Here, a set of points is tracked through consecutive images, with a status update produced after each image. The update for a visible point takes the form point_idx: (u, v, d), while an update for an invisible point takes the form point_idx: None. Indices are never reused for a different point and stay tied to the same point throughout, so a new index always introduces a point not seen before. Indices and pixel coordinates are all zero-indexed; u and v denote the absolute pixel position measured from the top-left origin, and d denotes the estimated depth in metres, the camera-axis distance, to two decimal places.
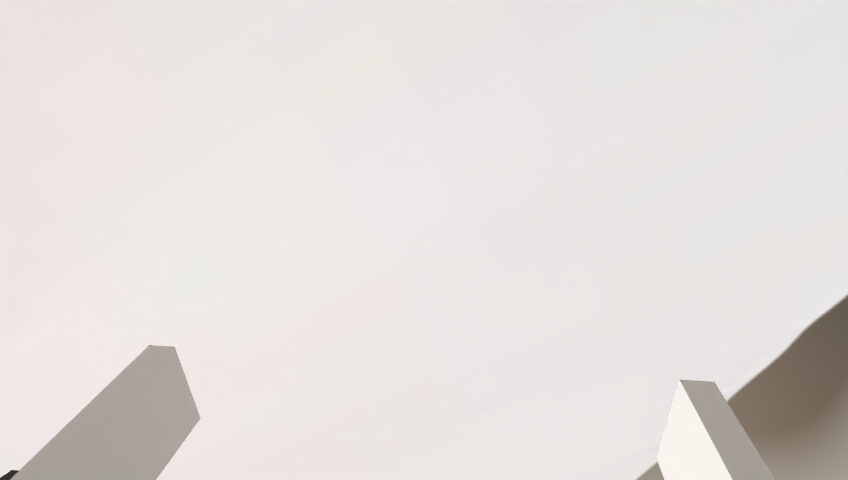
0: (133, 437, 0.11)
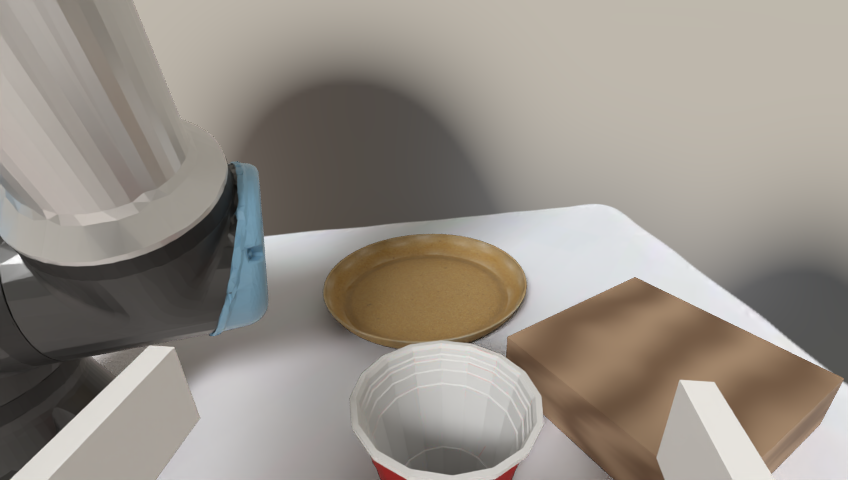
0: (133, 437, 0.11)
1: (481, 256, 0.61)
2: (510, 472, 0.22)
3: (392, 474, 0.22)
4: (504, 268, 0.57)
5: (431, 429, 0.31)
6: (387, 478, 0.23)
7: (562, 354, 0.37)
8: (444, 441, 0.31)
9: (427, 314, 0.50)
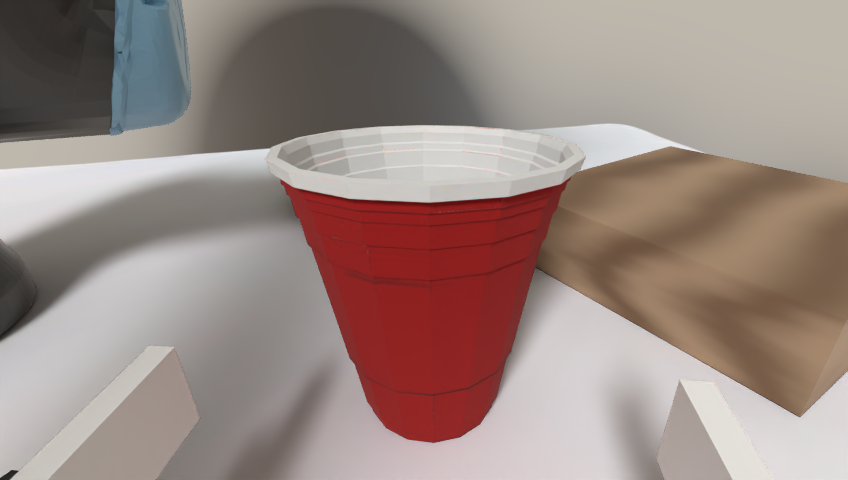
0: (133, 437, 0.11)
1: None
2: (532, 224, 0.13)
3: (329, 220, 0.13)
4: None
5: None
6: (324, 242, 0.14)
7: (589, 199, 0.28)
8: None
9: None
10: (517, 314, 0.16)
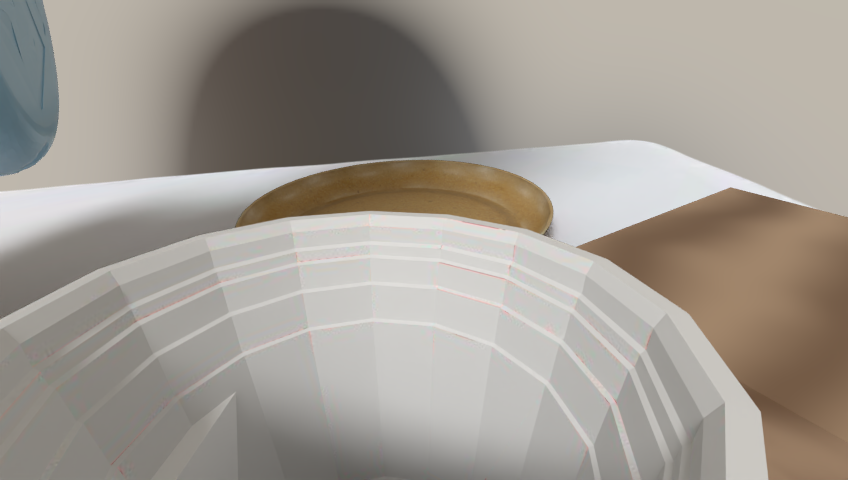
0: None
1: (482, 185, 0.42)
2: None
3: None
4: (516, 197, 0.39)
5: (353, 437, 0.13)
6: None
7: None
8: (387, 465, 0.13)
9: None
10: None
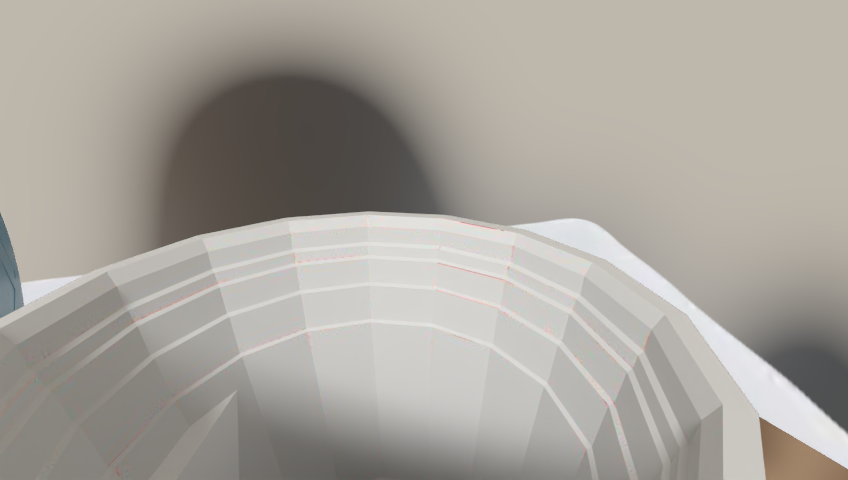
0: None
1: None
2: None
3: None
4: None
5: (352, 438, 0.13)
6: None
7: None
8: (386, 466, 0.13)
9: None
10: None
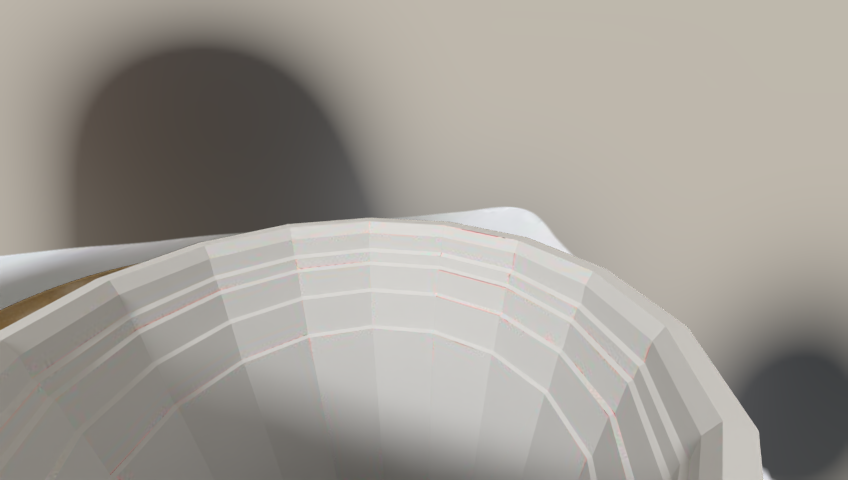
0: None
1: None
2: None
3: None
4: None
5: (353, 443, 0.13)
6: None
7: None
8: (387, 471, 0.13)
9: None
10: None
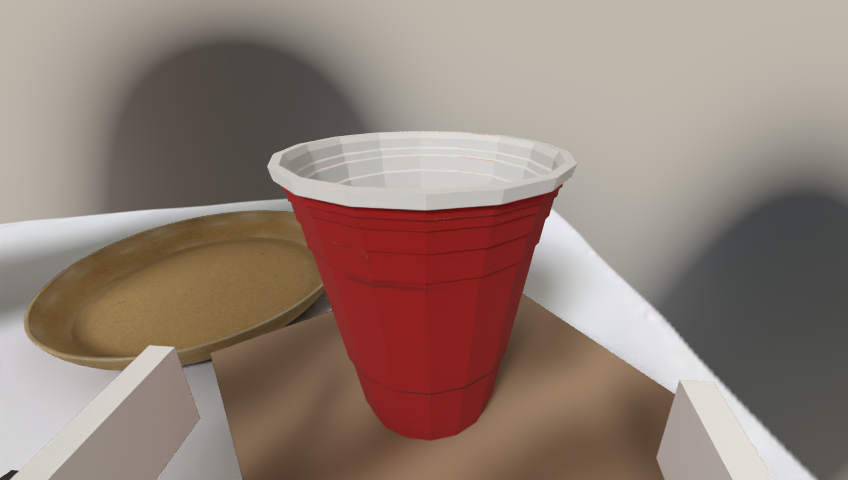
0: (133, 437, 0.11)
1: None
2: (524, 229, 0.14)
3: (329, 226, 0.13)
4: None
5: None
6: (324, 247, 0.14)
7: (273, 384, 0.22)
8: None
9: (188, 316, 0.35)
10: (511, 316, 0.17)
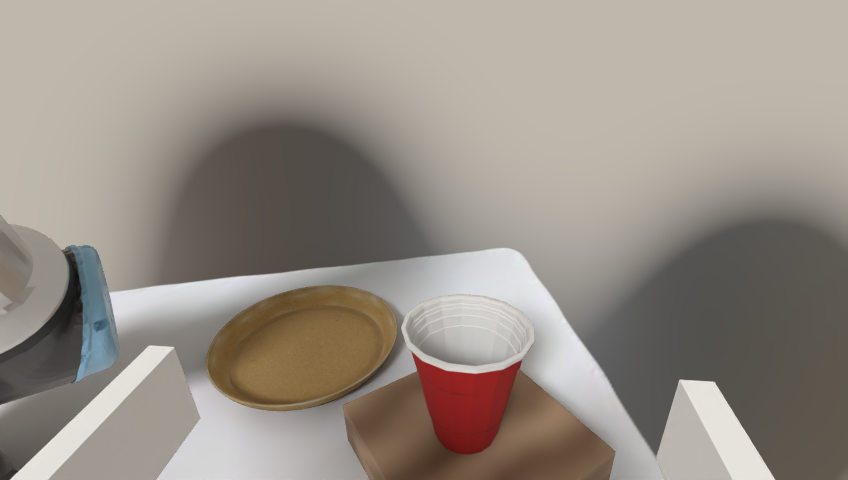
0: (133, 437, 0.11)
1: (372, 308, 0.65)
2: (512, 370, 0.34)
3: (434, 371, 0.33)
4: (387, 323, 0.61)
5: (453, 360, 0.42)
6: (430, 376, 0.34)
7: (383, 424, 0.42)
8: None
9: (302, 372, 0.55)
10: (507, 398, 0.37)
